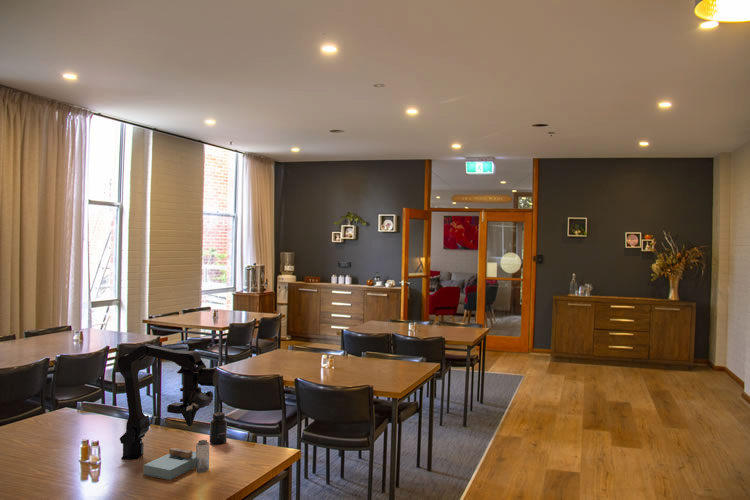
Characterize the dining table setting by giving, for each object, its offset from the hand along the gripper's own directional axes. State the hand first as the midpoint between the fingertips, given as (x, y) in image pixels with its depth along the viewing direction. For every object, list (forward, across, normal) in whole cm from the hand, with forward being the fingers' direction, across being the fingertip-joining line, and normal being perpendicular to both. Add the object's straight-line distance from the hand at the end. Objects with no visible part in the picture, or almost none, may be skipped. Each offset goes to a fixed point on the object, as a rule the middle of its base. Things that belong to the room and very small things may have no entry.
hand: (189, 426), depth 215 cm
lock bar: (+9, -6, -1) cm, 11 cm away
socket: (+13, -9, -1) cm, 16 cm away
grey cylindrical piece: (+13, -6, -11) cm, 18 cm away
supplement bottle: (+13, +21, +3) cm, 25 cm away
